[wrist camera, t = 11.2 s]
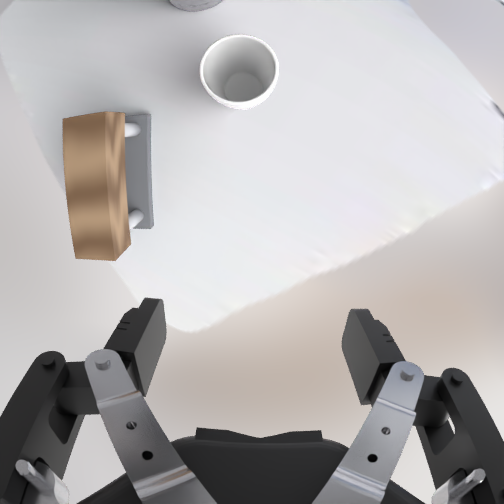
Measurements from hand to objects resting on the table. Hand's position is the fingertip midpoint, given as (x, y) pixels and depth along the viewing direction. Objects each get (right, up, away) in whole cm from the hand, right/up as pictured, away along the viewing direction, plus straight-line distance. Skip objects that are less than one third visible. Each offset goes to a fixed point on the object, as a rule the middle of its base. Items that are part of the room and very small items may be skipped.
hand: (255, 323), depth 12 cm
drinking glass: (-1, +24, +23) cm, 33 cm away
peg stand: (-18, +14, +27) cm, 35 cm away
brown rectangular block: (-18, +11, +20) cm, 29 cm away
